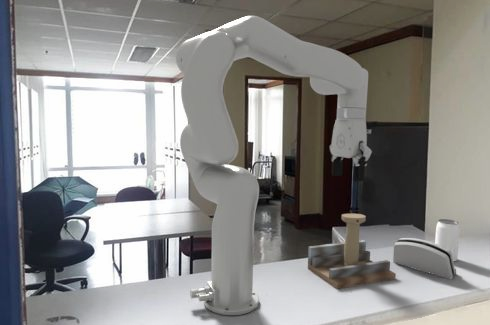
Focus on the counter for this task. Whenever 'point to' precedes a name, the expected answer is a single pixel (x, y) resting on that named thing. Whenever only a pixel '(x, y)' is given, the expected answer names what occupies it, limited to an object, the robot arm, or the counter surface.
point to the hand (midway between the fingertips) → (347, 178)
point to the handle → (352, 237)
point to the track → (339, 276)
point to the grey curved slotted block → (424, 256)
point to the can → (448, 236)
